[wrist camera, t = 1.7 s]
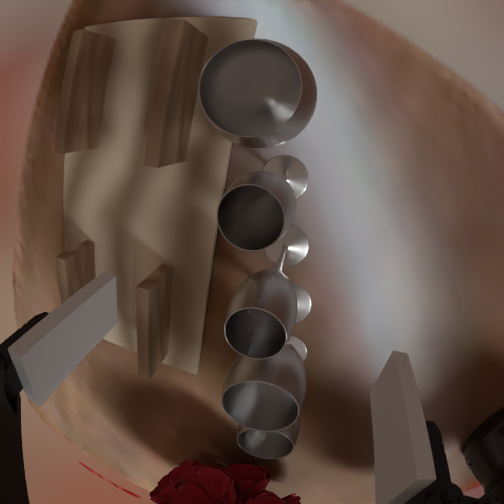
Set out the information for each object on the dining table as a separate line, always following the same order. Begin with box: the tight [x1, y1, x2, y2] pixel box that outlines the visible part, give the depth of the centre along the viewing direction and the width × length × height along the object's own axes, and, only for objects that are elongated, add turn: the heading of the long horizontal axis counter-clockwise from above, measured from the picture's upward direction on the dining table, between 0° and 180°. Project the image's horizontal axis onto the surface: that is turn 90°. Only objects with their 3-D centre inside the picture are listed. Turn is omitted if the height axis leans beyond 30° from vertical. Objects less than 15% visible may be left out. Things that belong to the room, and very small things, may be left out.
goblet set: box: [199, 39, 317, 459], centre depth 21 cm, size 28×6×13 cm, turn 3°
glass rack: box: [55, 17, 257, 381], centre depth 26 cm, size 18×36×6 cm, turn 169°
